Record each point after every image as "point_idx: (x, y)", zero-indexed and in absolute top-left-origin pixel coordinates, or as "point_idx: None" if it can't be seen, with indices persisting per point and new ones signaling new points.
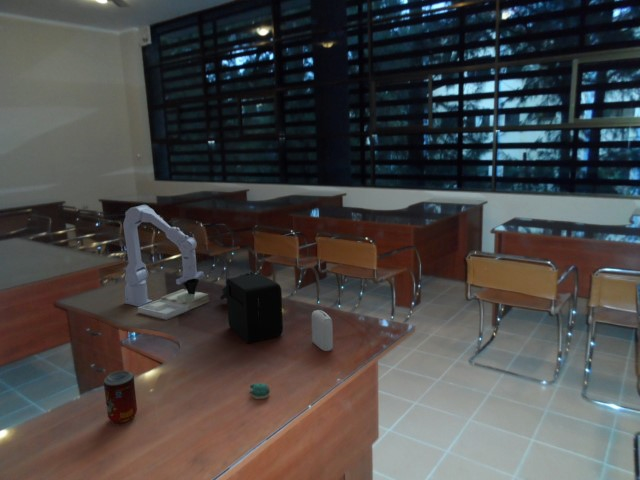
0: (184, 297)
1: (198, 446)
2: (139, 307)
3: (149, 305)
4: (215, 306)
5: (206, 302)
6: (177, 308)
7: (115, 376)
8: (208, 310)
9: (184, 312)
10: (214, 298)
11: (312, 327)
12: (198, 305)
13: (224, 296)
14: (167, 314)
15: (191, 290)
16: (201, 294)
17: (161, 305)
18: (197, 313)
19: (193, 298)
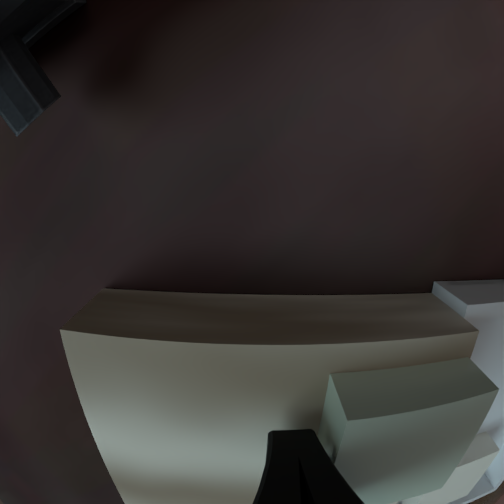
0: (486, 409)
1: None
2: (497, 486)
3: (467, 491)
4: (191, 96)
5: (145, 291)
6: None
7: None
8: (343, 80)
9: (474, 280)
10: (26, 302)
11: None
12: (280, 298)
13: (25, 53)
14: None
15: (359, 501)
16: (130, 406)
17: (472, 459)
18: (456, 142)
19: (350, 378)
